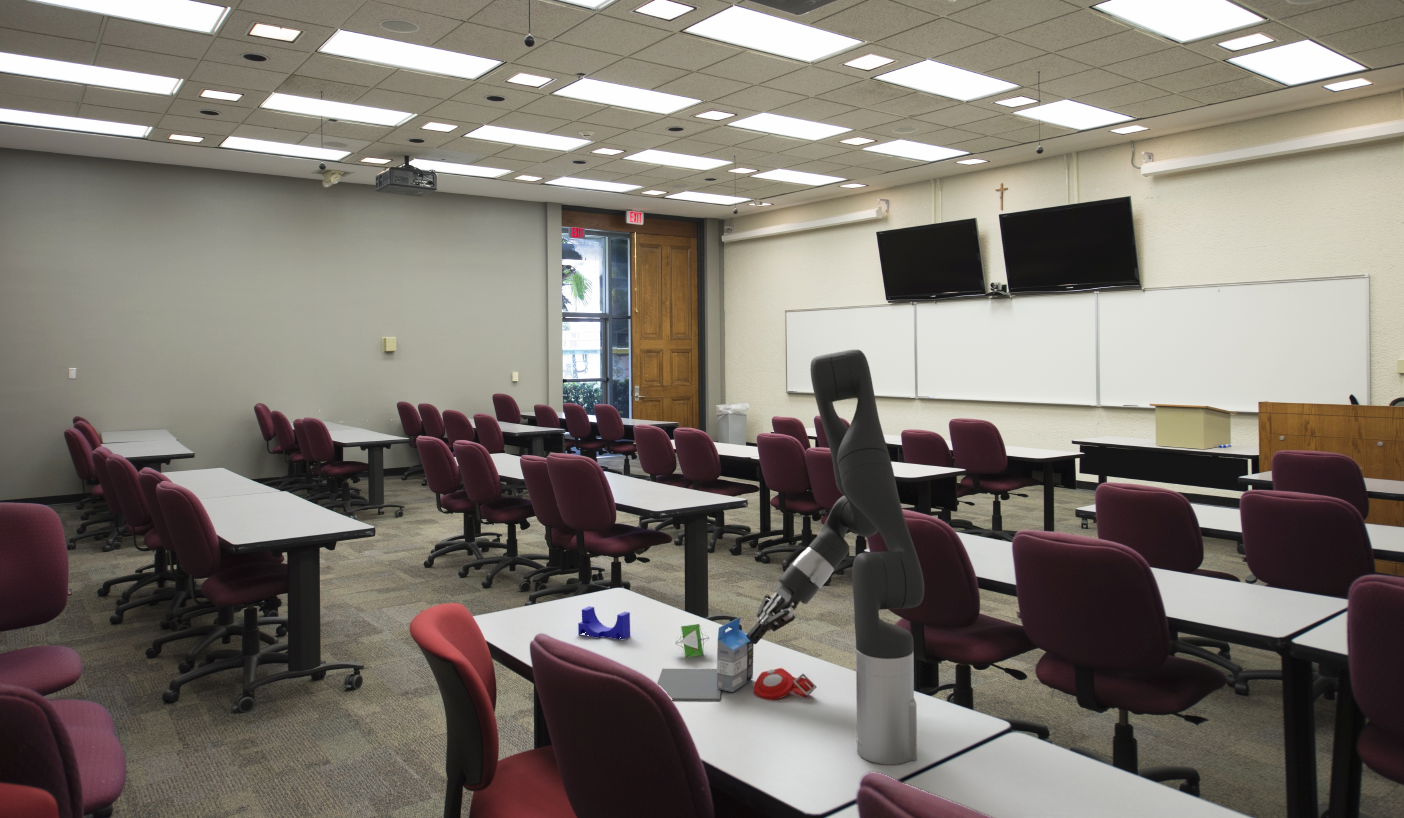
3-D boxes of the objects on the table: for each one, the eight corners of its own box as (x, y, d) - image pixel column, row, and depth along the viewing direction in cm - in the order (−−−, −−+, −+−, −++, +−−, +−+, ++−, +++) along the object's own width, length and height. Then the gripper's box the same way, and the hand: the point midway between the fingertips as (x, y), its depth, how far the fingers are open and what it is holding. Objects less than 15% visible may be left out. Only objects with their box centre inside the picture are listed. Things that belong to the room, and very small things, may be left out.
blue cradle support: (578, 635, 206) (577, 610, 206) (589, 630, 210) (589, 606, 210) (619, 642, 200) (618, 617, 200) (630, 637, 204) (629, 612, 204)
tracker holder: (753, 697, 163) (749, 666, 173) (759, 716, 165) (754, 685, 174) (815, 682, 163) (808, 652, 172) (820, 701, 164) (813, 671, 173)
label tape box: (732, 693, 167) (735, 631, 166) (714, 688, 169) (717, 627, 168) (753, 679, 175) (756, 620, 174) (735, 675, 177) (738, 616, 176)
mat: (723, 670, 180) (723, 668, 180) (719, 700, 164) (719, 698, 164) (662, 670, 181) (662, 668, 181) (652, 699, 165) (652, 697, 165)
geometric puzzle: (670, 639, 194) (676, 618, 189) (699, 636, 196) (705, 614, 192) (678, 666, 189) (685, 645, 184) (708, 662, 191) (714, 640, 186)
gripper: (782, 556, 180) (727, 619, 177) (806, 570, 167) (747, 638, 164) (806, 579, 181) (752, 642, 179) (832, 595, 169) (774, 663, 166)
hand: (750, 640), depth 172 cm, fingers closed
